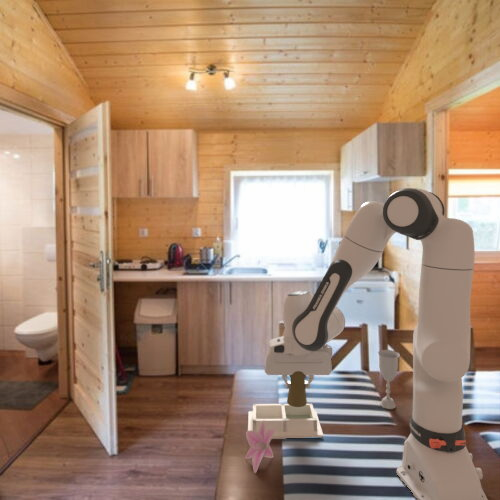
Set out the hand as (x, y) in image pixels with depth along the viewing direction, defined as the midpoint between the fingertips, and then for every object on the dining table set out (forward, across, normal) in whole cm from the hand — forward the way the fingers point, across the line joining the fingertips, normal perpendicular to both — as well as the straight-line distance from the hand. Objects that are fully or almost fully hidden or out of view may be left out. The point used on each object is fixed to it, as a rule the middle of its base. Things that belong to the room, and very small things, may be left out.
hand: (297, 387), depth 121 cm
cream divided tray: (+12, +4, 0) cm, 13 cm away
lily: (+13, +12, +17) cm, 24 cm away
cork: (+5, 0, 0) cm, 5 cm away
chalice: (+12, -32, -12) cm, 36 cm away
